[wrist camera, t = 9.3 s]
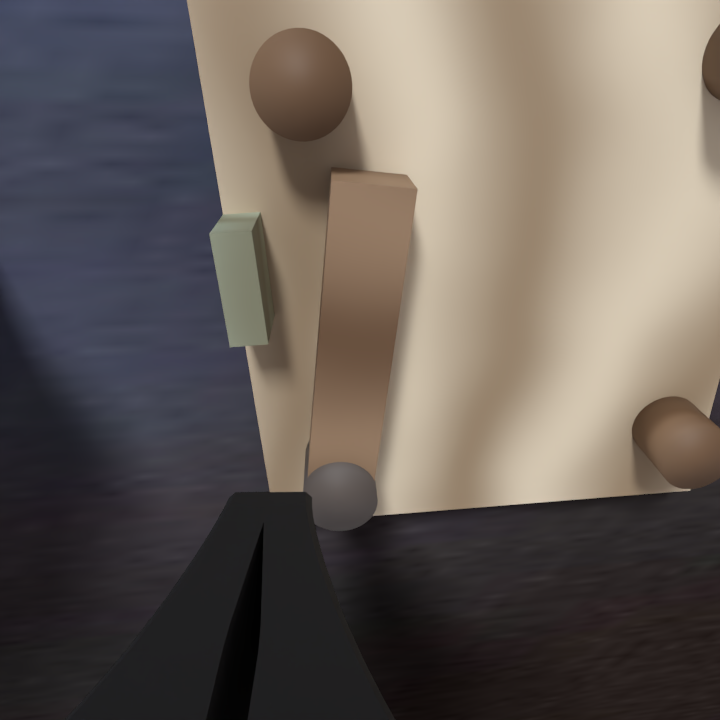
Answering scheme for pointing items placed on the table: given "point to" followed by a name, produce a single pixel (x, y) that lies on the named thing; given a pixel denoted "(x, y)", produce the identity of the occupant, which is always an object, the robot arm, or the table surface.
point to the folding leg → (356, 340)
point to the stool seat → (484, 233)
